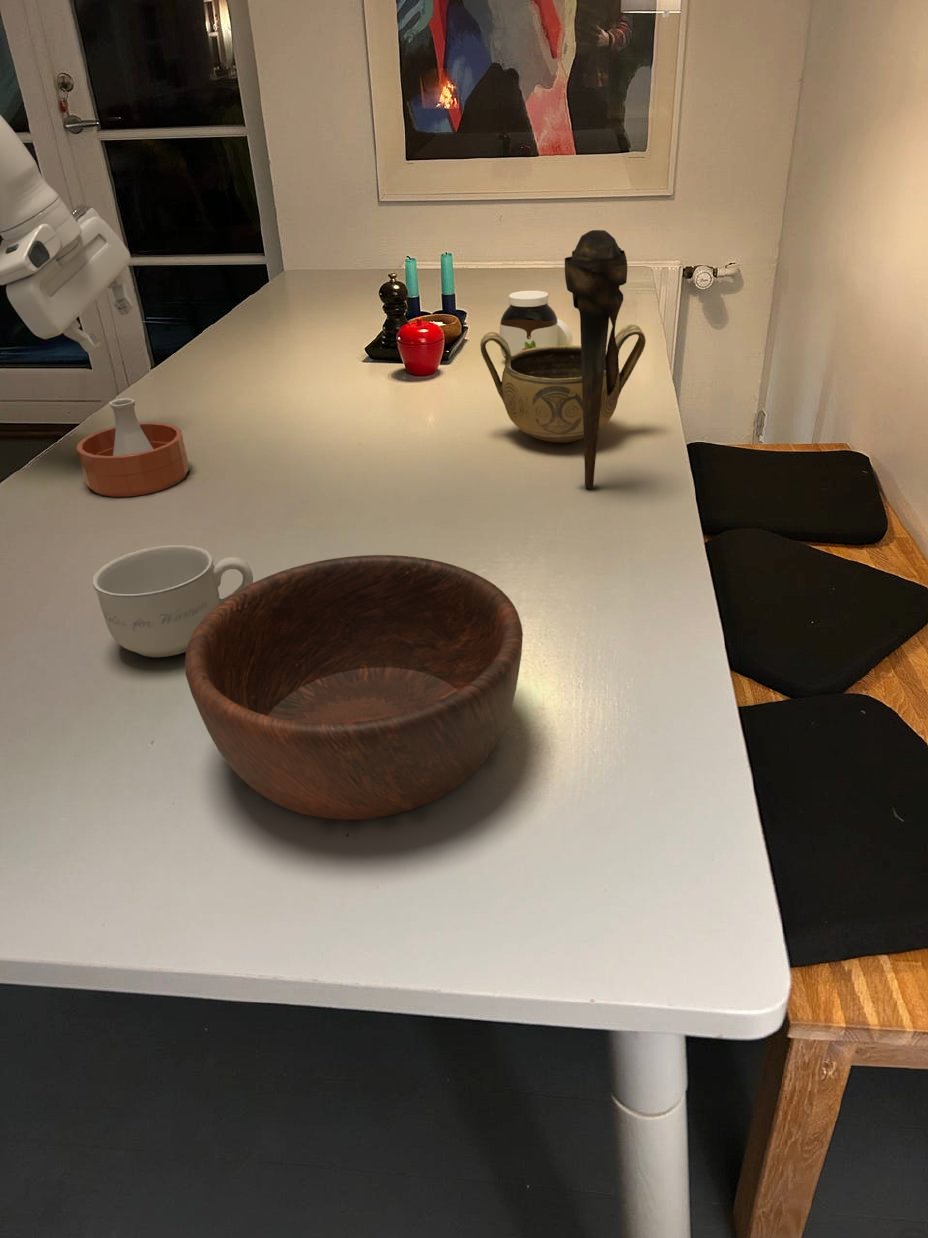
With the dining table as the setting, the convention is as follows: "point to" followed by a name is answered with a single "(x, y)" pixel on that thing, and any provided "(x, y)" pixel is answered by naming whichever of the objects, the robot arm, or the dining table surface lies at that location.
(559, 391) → the ceramic bowl
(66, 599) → the dining table surface
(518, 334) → the spread jar
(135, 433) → the flask
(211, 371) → the dining table surface
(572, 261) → the decorative torch
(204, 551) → the teacup
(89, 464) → the terracotta bowl
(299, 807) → the wooden bowl
